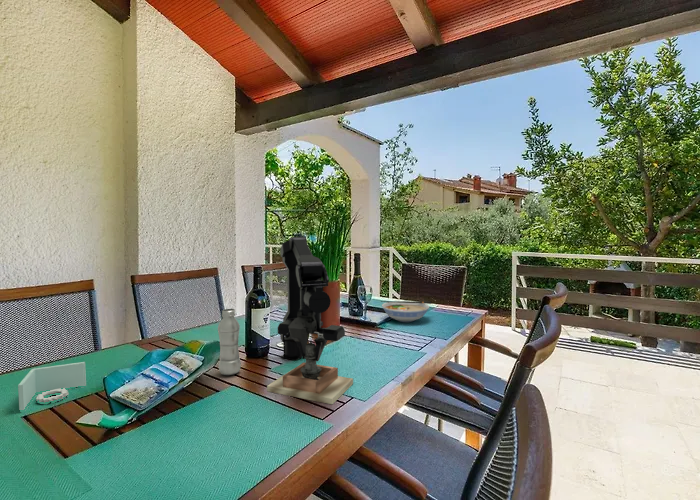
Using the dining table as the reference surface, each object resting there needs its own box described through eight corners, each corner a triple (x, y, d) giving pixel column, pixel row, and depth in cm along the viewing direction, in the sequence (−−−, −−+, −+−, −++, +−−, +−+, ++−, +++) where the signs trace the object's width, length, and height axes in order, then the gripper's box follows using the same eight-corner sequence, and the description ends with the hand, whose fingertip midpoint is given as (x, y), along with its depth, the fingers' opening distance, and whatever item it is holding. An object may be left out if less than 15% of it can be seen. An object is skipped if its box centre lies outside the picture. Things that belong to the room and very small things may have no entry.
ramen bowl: (377, 325, 175) (377, 308, 175) (381, 314, 198) (381, 298, 197) (432, 328, 171) (433, 310, 171) (430, 316, 194) (430, 300, 193)
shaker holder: (267, 391, 106) (266, 375, 105) (293, 373, 119) (293, 359, 118) (332, 404, 98) (332, 387, 98) (353, 383, 111) (353, 368, 110)
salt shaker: (318, 386, 105) (317, 344, 104) (297, 385, 106) (297, 342, 105) (323, 378, 110) (323, 337, 110) (304, 376, 112) (304, 336, 111)
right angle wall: (19, 415, 93) (18, 385, 93) (33, 395, 104) (31, 368, 104) (79, 404, 99) (77, 376, 98) (86, 387, 110) (85, 361, 109)
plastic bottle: (245, 371, 120) (244, 308, 119) (230, 379, 114) (228, 313, 112) (229, 368, 123) (228, 306, 121) (213, 375, 116) (212, 311, 115)
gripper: (265, 308, 103) (266, 364, 104) (327, 314, 96) (327, 375, 97) (288, 300, 113) (288, 352, 114) (345, 306, 106) (345, 361, 107)
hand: (310, 359), depth 108 cm, fingers open, 4 cm apart
